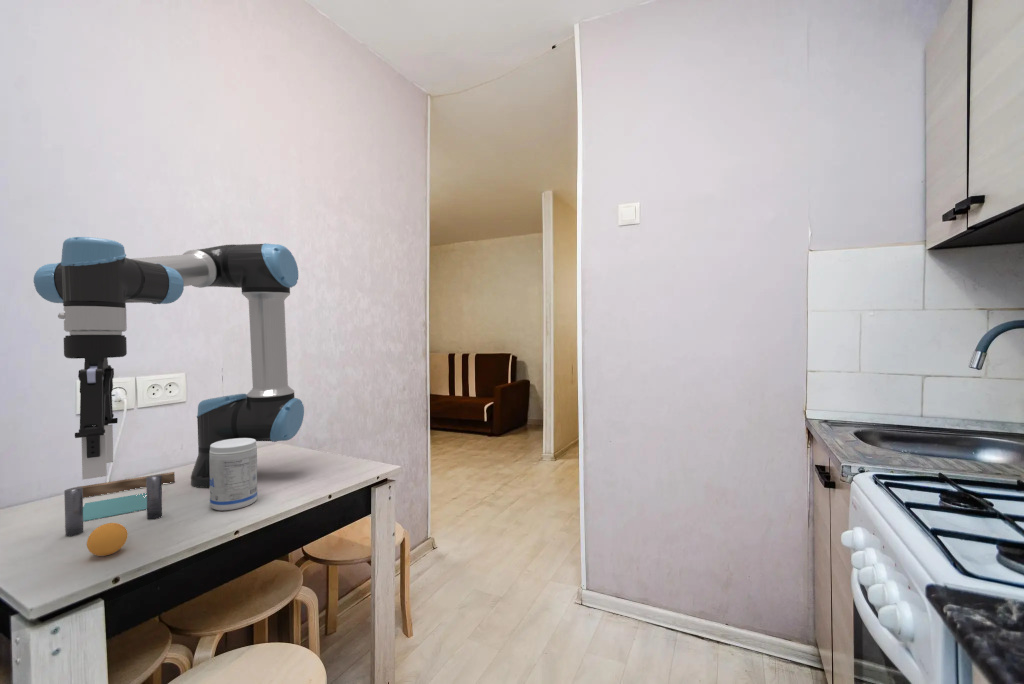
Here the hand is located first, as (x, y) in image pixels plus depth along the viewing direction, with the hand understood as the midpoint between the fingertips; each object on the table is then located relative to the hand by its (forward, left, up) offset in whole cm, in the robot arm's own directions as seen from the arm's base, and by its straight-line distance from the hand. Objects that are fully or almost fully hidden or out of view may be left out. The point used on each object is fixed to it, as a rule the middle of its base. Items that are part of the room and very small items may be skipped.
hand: (98, 469), depth 73 cm
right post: (-6, -26, -18) cm, 32 cm away
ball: (0, -10, -15) cm, 18 cm away
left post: (+6, -26, -18) cm, 32 cm away
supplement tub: (-21, -24, -18) cm, 36 cm away
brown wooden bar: (0, -54, -18) cm, 56 cm away
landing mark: (0, -40, -18) cm, 43 cm away
